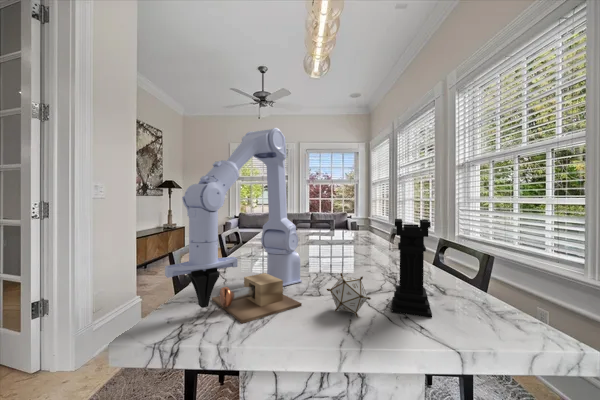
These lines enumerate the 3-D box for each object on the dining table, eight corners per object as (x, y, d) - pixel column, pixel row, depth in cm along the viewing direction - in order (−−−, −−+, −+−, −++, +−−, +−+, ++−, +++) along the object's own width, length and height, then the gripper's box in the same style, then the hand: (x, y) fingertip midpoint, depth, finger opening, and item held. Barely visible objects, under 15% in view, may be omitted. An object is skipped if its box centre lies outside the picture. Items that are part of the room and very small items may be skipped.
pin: (258, 294, 69) (258, 277, 69) (267, 299, 66) (267, 282, 66) (219, 304, 63) (219, 285, 63) (227, 310, 60) (227, 290, 60)
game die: (348, 333, 60) (336, 305, 54) (328, 306, 67) (315, 278, 61) (381, 309, 62) (373, 279, 56) (358, 285, 69) (348, 257, 63)
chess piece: (428, 304, 67) (428, 219, 66) (432, 317, 59) (433, 222, 59) (392, 300, 69) (393, 218, 69) (391, 312, 62) (392, 221, 61)
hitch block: (265, 288, 78) (265, 268, 77) (301, 305, 65) (301, 282, 65) (212, 300, 68) (212, 277, 68) (242, 323, 56) (242, 296, 56)
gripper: (228, 236, 66) (228, 293, 67) (161, 241, 58) (161, 307, 58) (242, 239, 61) (241, 302, 61) (170, 246, 52) (170, 319, 52)
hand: (203, 305), depth 59 cm, fingers closed
